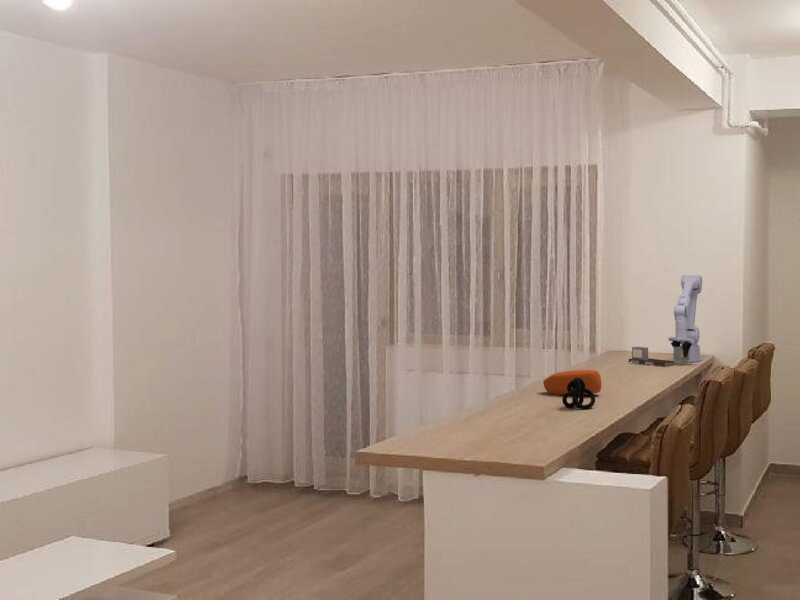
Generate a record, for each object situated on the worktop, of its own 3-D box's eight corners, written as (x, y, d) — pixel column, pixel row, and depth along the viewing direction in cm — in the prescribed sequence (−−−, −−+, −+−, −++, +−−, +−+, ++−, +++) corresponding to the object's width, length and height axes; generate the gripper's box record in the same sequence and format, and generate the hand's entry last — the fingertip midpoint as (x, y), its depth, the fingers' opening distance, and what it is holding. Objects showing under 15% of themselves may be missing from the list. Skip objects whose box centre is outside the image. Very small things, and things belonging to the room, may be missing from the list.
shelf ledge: (638, 361, 555) (638, 357, 555) (674, 365, 538) (674, 361, 537) (628, 363, 550) (628, 358, 550) (663, 367, 533) (663, 362, 532)
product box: (673, 360, 539) (673, 346, 538) (682, 359, 543) (682, 345, 543) (680, 361, 536) (680, 347, 535) (689, 360, 540) (689, 346, 540)
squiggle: (579, 422, 422) (580, 397, 434) (597, 408, 416) (599, 383, 428) (557, 405, 419) (559, 381, 431) (575, 391, 413) (578, 367, 425)
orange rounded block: (540, 399, 456) (597, 396, 444) (537, 374, 455) (594, 370, 443) (550, 395, 466) (606, 392, 454) (547, 370, 466) (603, 367, 454)
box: (637, 360, 553) (637, 346, 553) (648, 361, 548) (648, 347, 547) (631, 360, 551) (631, 347, 550) (642, 362, 545) (642, 348, 545)
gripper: (664, 329, 542) (664, 356, 543) (688, 330, 530) (688, 358, 531) (673, 327, 546) (673, 354, 547) (697, 329, 535) (697, 357, 536)
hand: (681, 356), depth 539 cm, fingers closed on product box, 4 cm apart
